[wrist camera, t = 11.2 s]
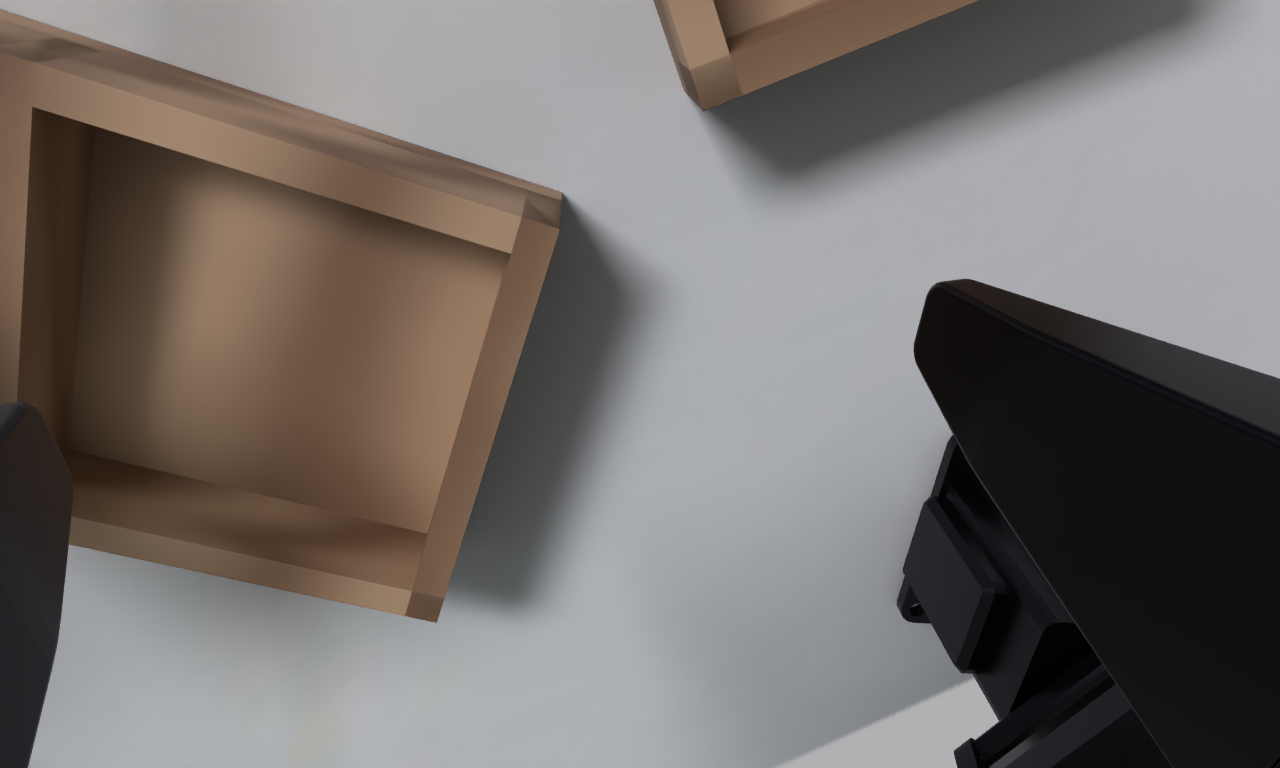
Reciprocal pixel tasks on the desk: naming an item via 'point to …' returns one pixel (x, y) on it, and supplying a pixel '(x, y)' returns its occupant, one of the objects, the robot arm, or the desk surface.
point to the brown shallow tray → (255, 321)
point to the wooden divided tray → (776, 37)
